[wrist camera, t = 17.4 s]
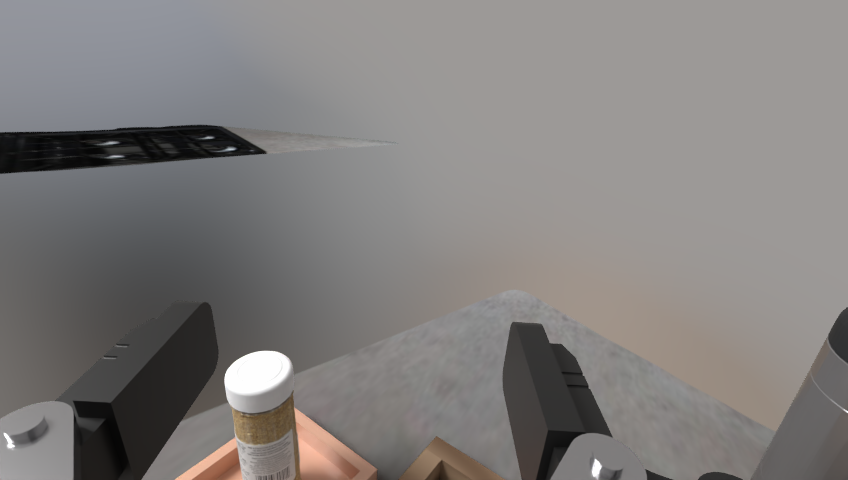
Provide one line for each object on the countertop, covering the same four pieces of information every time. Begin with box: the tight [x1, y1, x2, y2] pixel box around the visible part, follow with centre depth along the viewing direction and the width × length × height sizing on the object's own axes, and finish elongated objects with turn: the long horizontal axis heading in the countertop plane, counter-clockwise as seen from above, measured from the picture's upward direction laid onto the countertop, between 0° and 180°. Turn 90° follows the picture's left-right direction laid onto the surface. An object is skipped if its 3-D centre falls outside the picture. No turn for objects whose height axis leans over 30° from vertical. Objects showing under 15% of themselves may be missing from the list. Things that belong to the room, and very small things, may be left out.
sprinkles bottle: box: [225, 351, 302, 480], centre depth 33 cm, size 5×5×14 cm
